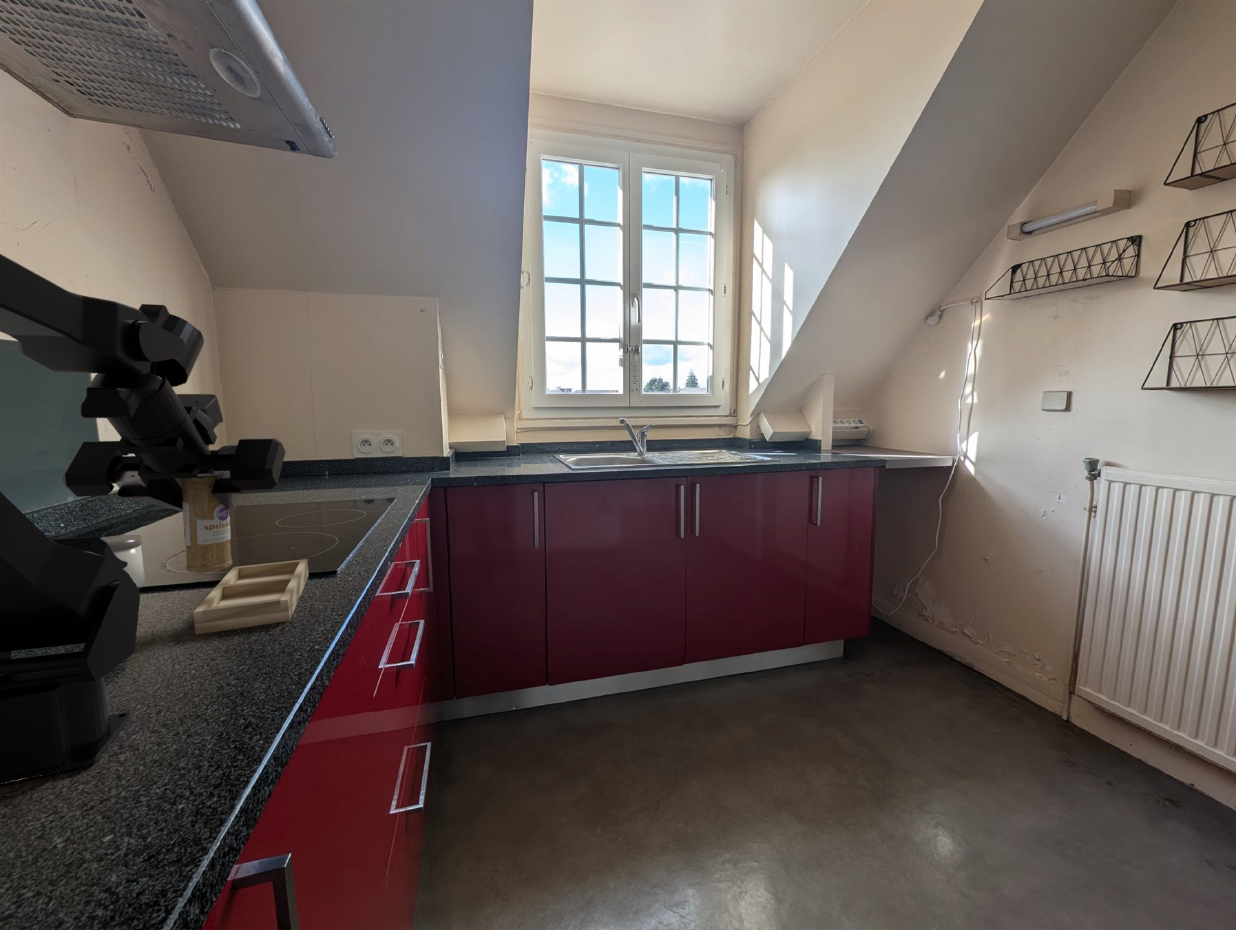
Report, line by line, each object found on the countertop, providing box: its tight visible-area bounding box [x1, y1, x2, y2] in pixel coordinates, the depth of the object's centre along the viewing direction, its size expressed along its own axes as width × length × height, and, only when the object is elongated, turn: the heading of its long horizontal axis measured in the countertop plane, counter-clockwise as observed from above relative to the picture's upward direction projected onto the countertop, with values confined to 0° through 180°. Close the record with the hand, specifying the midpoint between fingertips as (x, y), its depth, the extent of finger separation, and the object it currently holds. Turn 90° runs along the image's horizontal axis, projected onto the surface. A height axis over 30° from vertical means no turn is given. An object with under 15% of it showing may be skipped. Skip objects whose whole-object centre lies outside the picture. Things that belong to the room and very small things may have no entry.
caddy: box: [192, 558, 309, 635], centre depth 68 cm, size 17×9×3 cm, turn 25°
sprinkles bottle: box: [180, 474, 233, 574], centre depth 62 cm, size 5×5×13 cm
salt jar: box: [99, 534, 146, 587], centre depth 72 cm, size 6×6×7 cm
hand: (212, 508), depth 63 cm, fingers closed on sprinkles bottle, 4 cm apart
